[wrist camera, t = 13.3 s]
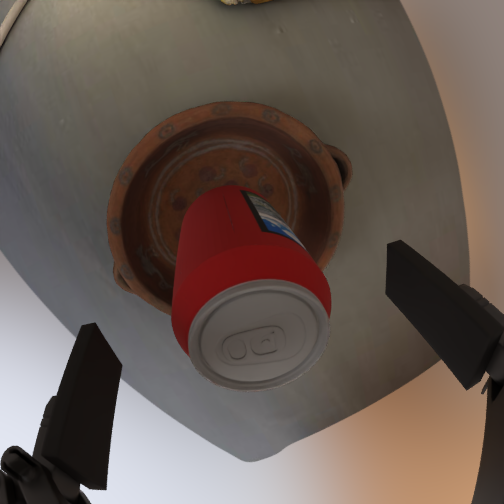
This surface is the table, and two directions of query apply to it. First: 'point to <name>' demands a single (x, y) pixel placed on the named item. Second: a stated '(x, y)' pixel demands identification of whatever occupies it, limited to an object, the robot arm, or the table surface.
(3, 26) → the wooden stick
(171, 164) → the dish
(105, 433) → the robot arm
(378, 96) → the table surface
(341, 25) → the table surface
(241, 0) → the decorative figurine
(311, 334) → the beverage can
